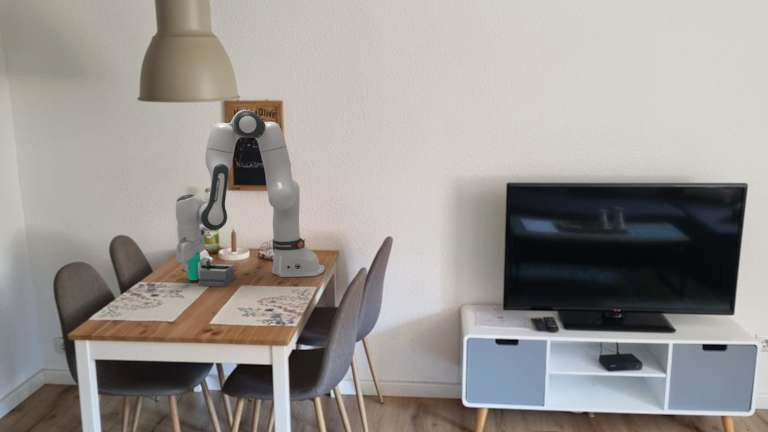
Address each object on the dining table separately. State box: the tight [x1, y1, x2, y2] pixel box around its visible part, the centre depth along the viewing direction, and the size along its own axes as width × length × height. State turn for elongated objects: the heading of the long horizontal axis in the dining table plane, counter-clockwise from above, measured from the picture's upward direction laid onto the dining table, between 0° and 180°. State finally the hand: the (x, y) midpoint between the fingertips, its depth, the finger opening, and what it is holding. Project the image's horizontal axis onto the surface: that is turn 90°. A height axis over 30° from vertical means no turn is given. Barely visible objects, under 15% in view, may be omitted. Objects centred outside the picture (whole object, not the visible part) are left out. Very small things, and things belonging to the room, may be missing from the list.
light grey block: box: [198, 258, 211, 280], centre depth 305 cm, size 9×6×7 cm, turn 80°
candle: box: [186, 252, 201, 281], centre depth 308 cm, size 6×6×12 cm
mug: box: [181, 249, 214, 268], centre depth 325 cm, size 12×10×8 cm
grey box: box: [198, 263, 237, 288], centre depth 305 cm, size 11×12×6 cm
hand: (192, 267), depth 307 cm, fingers open, 8 cm apart
